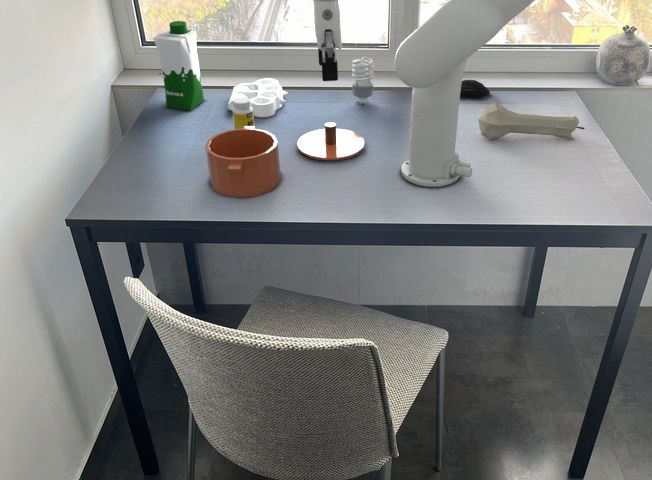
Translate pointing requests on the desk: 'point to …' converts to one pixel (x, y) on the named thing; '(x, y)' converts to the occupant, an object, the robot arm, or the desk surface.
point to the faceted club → (523, 123)
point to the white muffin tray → (260, 96)
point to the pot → (243, 162)
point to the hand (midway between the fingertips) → (328, 72)
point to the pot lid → (330, 143)
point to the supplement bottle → (242, 113)
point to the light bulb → (363, 86)
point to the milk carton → (180, 66)
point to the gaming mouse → (473, 90)
